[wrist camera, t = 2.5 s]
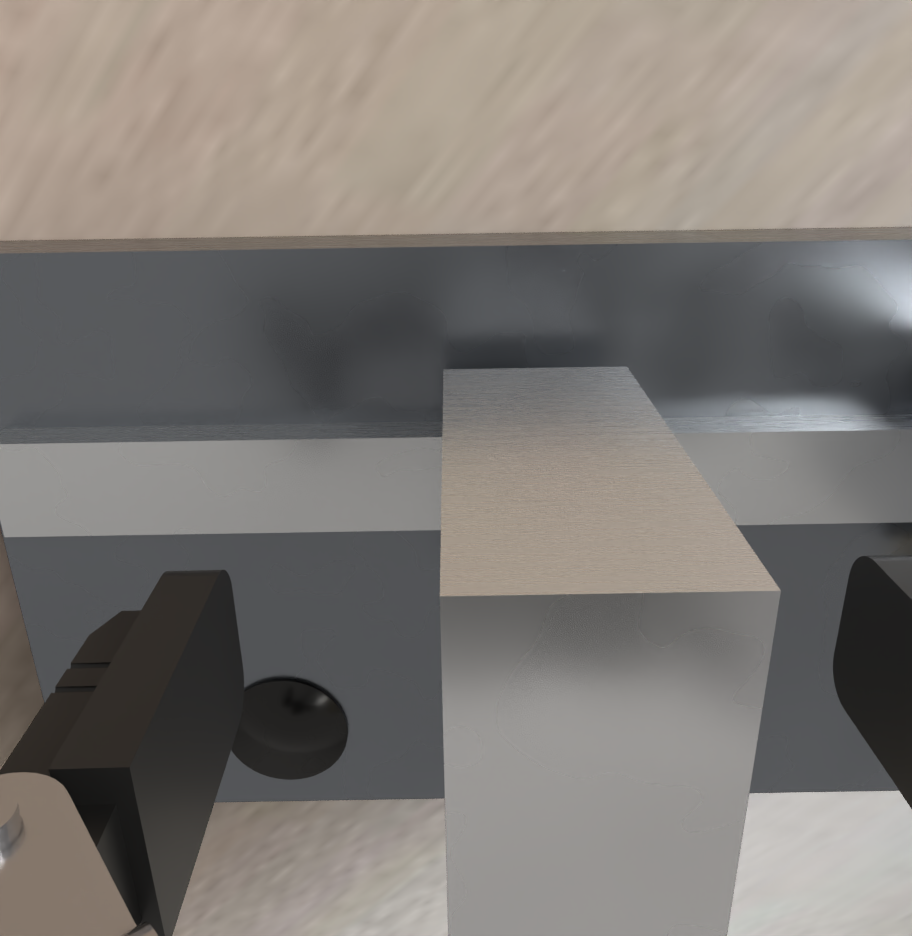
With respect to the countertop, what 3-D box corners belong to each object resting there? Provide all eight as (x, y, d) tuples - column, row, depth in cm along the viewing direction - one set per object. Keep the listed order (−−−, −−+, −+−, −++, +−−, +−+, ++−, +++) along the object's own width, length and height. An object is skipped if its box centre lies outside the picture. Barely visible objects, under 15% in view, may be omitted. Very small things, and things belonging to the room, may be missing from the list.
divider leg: (627, 366, 14) (779, 590, 7) (599, 767, 17) (691, 1162, 11) (443, 369, 14) (440, 596, 7) (451, 770, 17) (454, 1168, 11)
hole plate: (1176, 222, 16) (1290, 240, 14) (1016, 741, 20) (1083, 815, 18) (-23, 241, 16) (-96, 263, 13) (95, 757, 20) (54, 833, 18)
